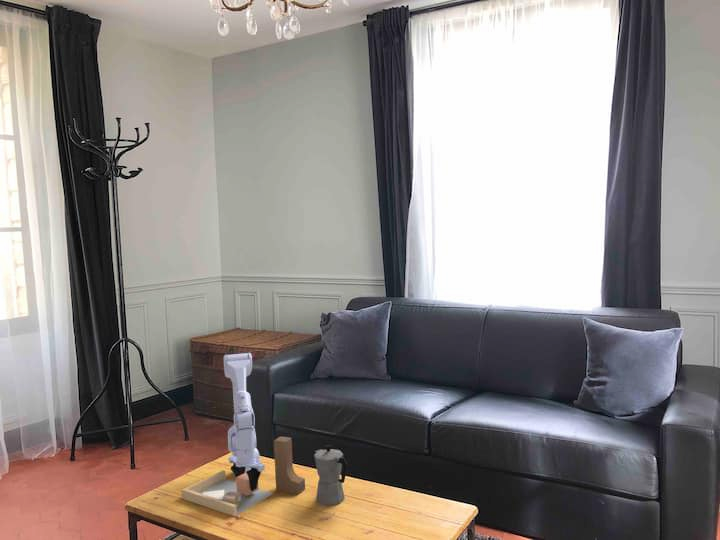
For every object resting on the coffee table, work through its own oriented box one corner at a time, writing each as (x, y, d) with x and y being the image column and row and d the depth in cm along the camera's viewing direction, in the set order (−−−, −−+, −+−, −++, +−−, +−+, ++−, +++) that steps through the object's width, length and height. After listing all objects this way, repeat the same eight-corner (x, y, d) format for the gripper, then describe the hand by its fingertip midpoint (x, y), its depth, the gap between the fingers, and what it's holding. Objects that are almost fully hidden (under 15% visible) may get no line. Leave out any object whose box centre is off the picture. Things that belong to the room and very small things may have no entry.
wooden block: (305, 491, 199) (303, 438, 198) (299, 496, 195) (296, 443, 194) (282, 487, 203) (280, 435, 201) (275, 492, 199) (273, 440, 197)
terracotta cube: (247, 486, 200) (246, 471, 199) (258, 489, 197) (257, 474, 196) (236, 492, 195) (236, 477, 195) (247, 495, 193) (246, 480, 192)
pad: (202, 492, 199) (202, 492, 199) (224, 490, 200) (224, 489, 200) (201, 501, 192) (201, 501, 192) (223, 499, 193) (223, 498, 193)
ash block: (229, 503, 190) (229, 491, 190) (240, 504, 189) (240, 492, 188) (223, 509, 186) (222, 496, 186) (234, 510, 185) (233, 498, 185)
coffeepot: (306, 497, 194) (304, 444, 193) (328, 488, 200) (326, 436, 199) (337, 513, 183) (334, 456, 181) (359, 503, 189) (357, 448, 188)
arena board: (223, 480, 210) (222, 470, 209) (274, 495, 196) (273, 484, 196) (182, 500, 195) (181, 489, 195) (234, 518, 181) (233, 506, 181)
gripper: (221, 447, 196) (223, 487, 197) (252, 456, 188) (254, 497, 189) (236, 440, 202) (238, 479, 203) (268, 448, 193) (270, 488, 194)
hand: (247, 487), depth 196 cm, fingers closed on terracotta cube, 5 cm apart
